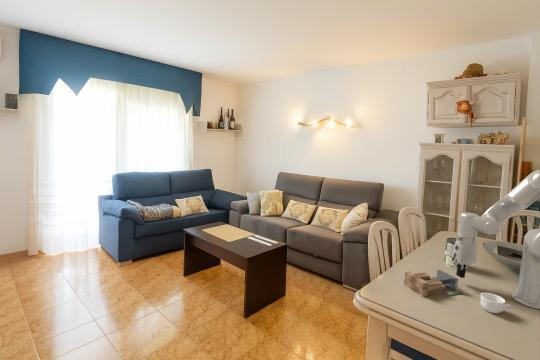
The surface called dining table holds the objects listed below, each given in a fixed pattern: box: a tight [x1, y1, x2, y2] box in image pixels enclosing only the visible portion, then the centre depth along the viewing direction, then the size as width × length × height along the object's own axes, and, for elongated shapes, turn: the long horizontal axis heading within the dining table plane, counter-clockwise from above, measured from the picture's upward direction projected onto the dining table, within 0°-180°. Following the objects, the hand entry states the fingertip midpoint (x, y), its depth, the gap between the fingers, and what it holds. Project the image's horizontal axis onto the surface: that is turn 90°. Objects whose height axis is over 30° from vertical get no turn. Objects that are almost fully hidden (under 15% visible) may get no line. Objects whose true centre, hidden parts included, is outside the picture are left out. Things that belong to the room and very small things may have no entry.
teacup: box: [479, 292, 513, 314], centre depth 115 cm, size 10×8×5 cm
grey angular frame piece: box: [428, 269, 462, 292], centre depth 132 cm, size 12×10×5 cm
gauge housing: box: [403, 271, 463, 298], centre depth 131 cm, size 13×20×6 cm, turn 106°
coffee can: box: [443, 237, 457, 270], centre depth 158 cm, size 10×10×14 cm
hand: (460, 276), depth 137 cm, fingers closed
